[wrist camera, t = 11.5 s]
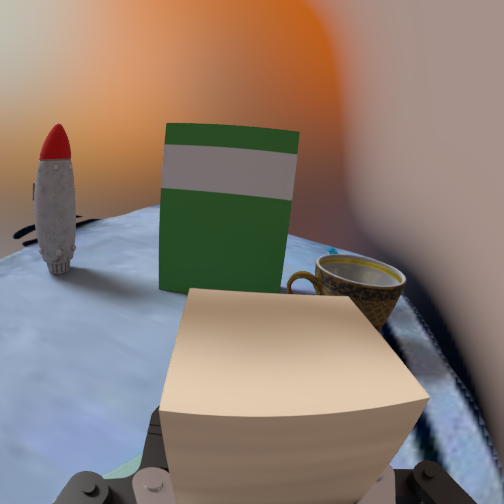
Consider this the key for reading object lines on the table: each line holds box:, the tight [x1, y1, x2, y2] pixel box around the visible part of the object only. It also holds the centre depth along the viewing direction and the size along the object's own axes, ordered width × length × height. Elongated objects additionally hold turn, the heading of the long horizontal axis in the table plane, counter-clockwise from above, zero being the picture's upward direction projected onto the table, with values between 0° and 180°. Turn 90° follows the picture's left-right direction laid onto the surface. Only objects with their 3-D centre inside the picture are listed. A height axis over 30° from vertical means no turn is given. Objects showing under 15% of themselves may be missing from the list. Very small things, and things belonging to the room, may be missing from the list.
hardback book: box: [159, 123, 300, 294], centre depth 43 cm, size 18×7×24 cm, turn 85°
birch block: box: [159, 288, 430, 504], centre depth 8 cm, size 5×5×12 cm
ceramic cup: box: [287, 254, 406, 333], centre depth 31 cm, size 13×10×10 cm
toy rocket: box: [33, 124, 76, 274], centre depth 41 cm, size 8×8×25 cm
